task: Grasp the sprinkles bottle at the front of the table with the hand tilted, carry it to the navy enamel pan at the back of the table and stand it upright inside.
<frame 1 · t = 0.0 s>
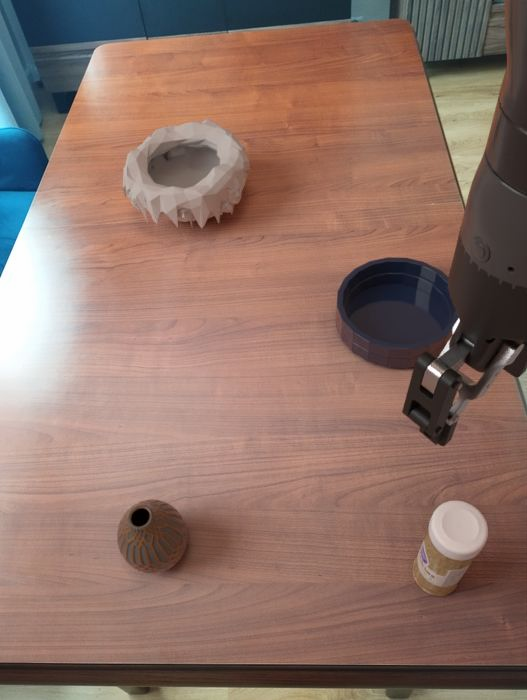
hand: (473, 400, 43), 24 cm above the table, tool pointing down, fingers open, 8 cm apart
sprinkles bottle: (435, 574, 58), on the table
bowl: (195, 204, 97), on the table
pan: (395, 322, 78), on the table
vase: (160, 548, 62), on the table
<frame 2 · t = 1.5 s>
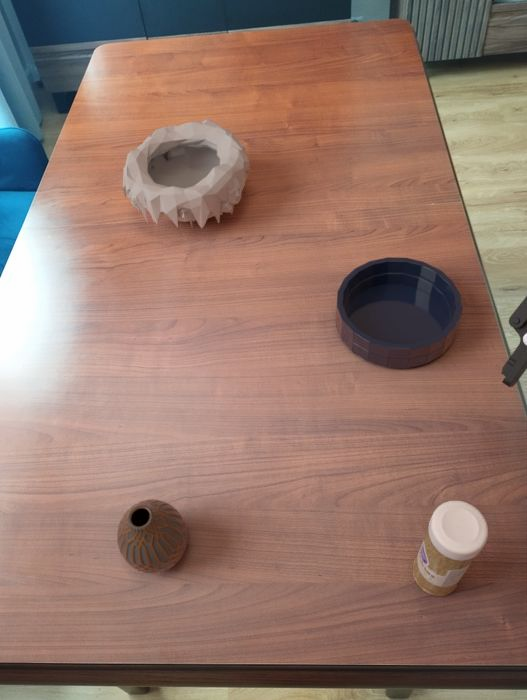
nothing on the table moved.
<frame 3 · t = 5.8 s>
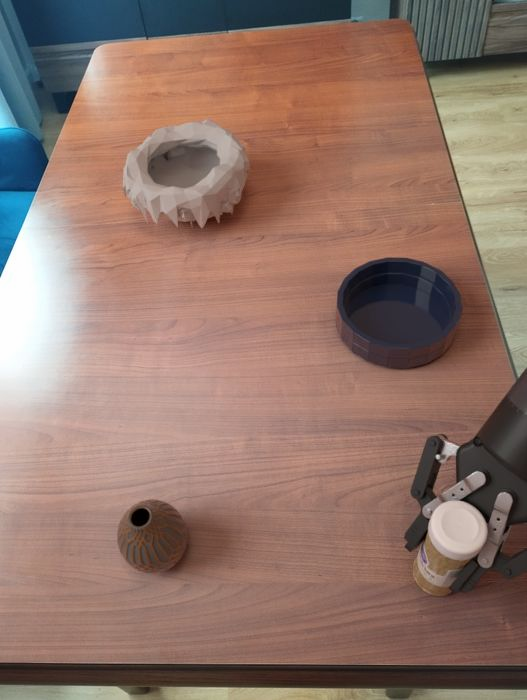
hand: (432, 567, 52), 7 cm above the table, tool tilted 45°, fingers closed on sprinkles bottle, 4 cm apart
sprinkles bottle: (435, 574, 58), on the table, touching gripper
everything else where it was.
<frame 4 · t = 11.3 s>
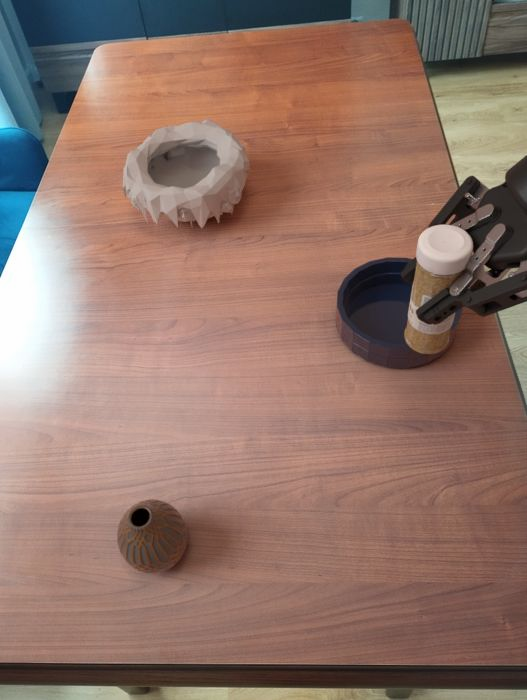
hand: (415, 298, 55), 20 cm above the table, tool tilted 45°, fingers closed on sprinkles bottle, 4 cm apart
sprinkles bottle: (426, 340, 60), point 13 cm above the table, touching gripper
everything else where it was.
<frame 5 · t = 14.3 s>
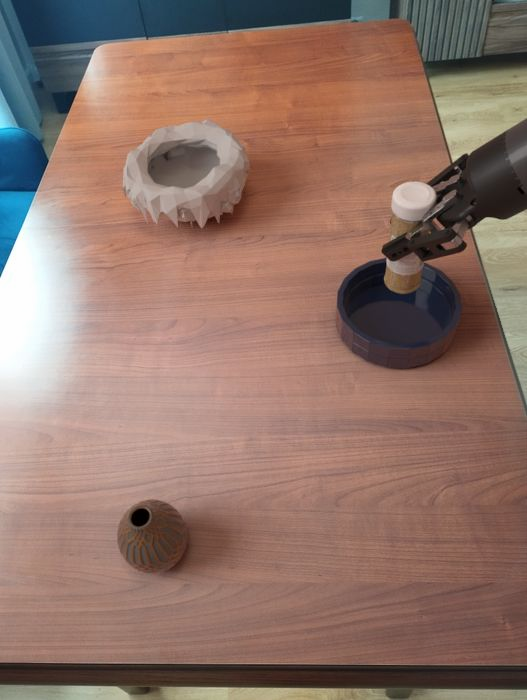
hand: (391, 239, 67), 14 cm above the table, tool tilted 45°, fingers closed on sprinkles bottle, 4 cm apart
sprinkles bottle: (402, 283, 72), point 8 cm above the table, touching gripper
everything else where it was.
when the fingers open (7 cm above the table, at t = 16.7 s): sprinkles bottle stays where it is, resting on pan.
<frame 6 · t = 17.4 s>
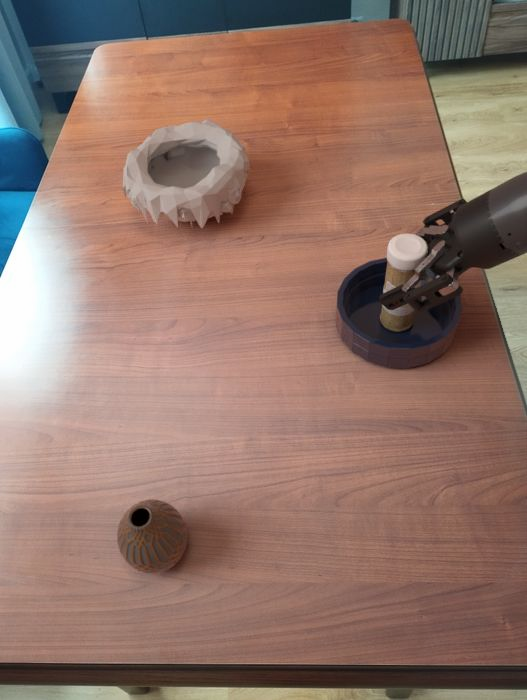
hand: (390, 278, 72), 8 cm above the table, tool tilted 45°, fingers open, 8 cm apart
sprinkles bottle: (396, 321, 78), resting on pan
everything else where it was.
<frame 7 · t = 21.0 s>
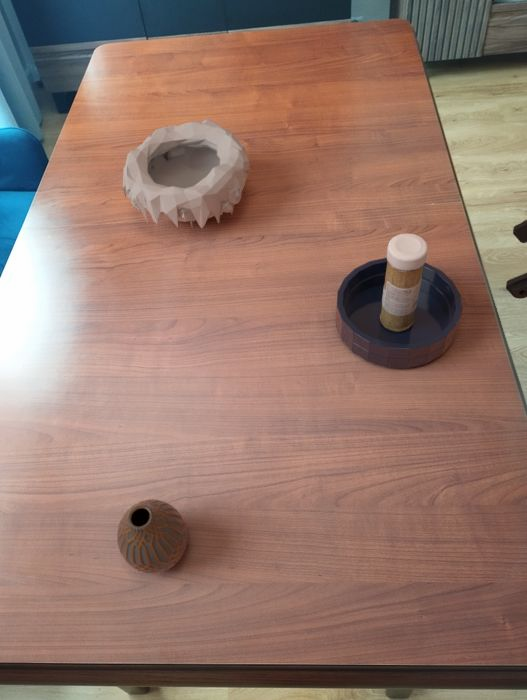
hand: (513, 262, 62), 15 cm above the table, tool tilted 45°, fingers open, 8 cm apart
nothing on the table moved.
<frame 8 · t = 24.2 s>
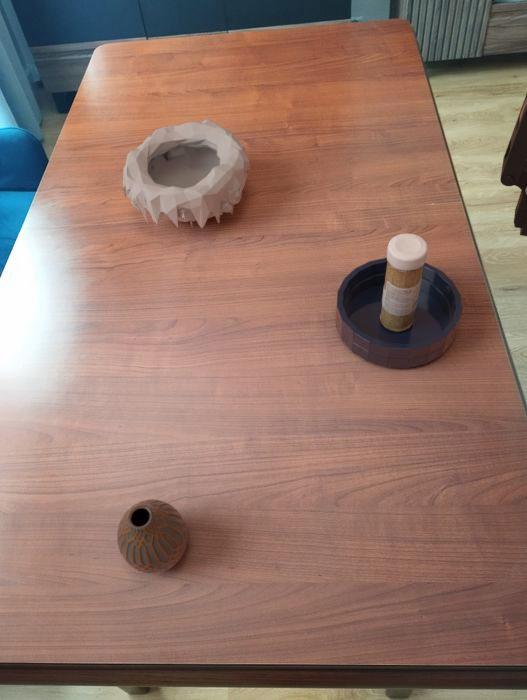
nothing on the table moved.
at the end: sprinkles bottle inside the target area in the pan (0.1 cm from its centre), point 0.3 cm above the pan's base; sprinkles bottle tilted 0°; the gripper is holding nothing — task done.
